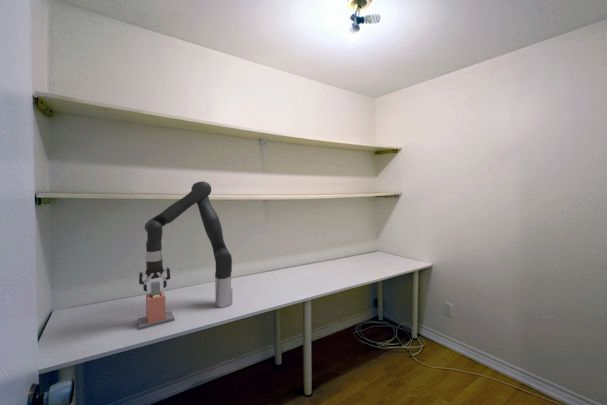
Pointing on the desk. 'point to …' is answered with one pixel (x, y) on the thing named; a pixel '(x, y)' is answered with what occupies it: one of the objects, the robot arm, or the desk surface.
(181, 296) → the desk surface
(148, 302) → the stand sleeve
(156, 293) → the steel column
